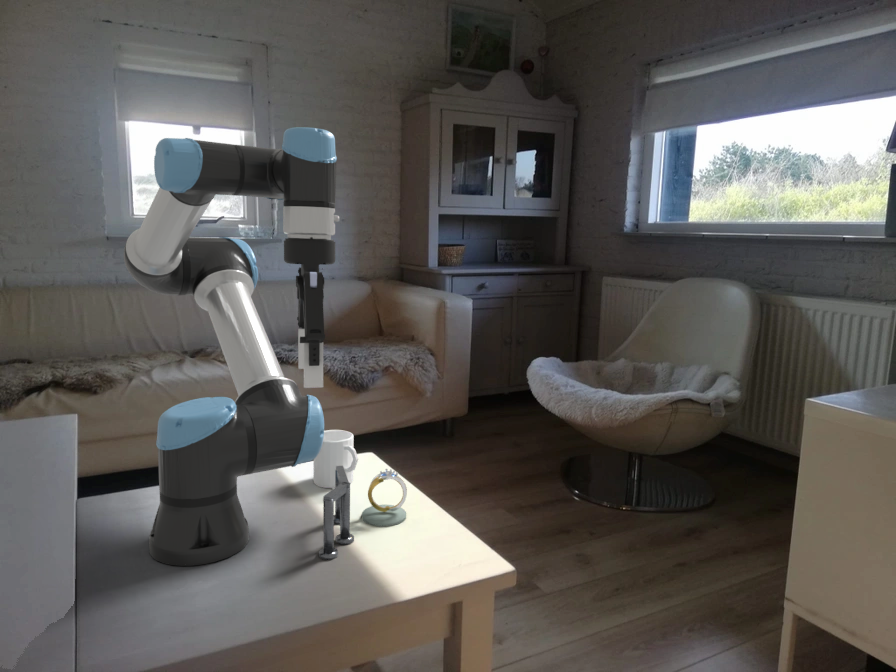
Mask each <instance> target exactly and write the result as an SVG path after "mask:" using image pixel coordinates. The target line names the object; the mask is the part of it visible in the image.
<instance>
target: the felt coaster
mask: <svg viewBox="0 0 896 672" xmlns="http://www.w3.org/2000/svg"><path fill="white" fill-rule="evenodd" d="M378 505H379V506H382V507H386V506H389V507H393V506H395V505H394V504H393V505H392V504H378ZM361 518H362V521H364V523H366V524H369V525H371V526H376V527H391V526H396V525H399V524H401V523H403V522H404V521H405V520H406V519H407V511H406V510H405V509H404V508H403V507H402V506H401V507H400V508H399V509H397V510H396V511H393V512H389V513H388V514H386V513H385V512H382V511H379V510H377V509H375V508H374V507H373V506H372V505H371V506H369V507H366V508H365V509H363V511H362V512H361Z"/></svg>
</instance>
